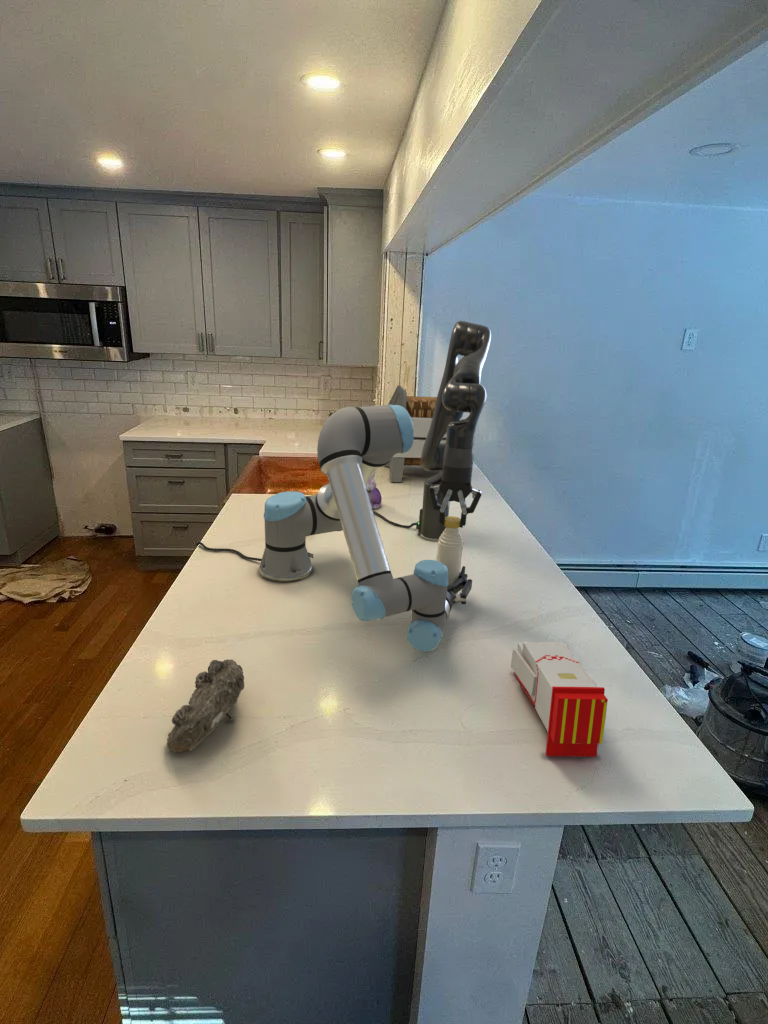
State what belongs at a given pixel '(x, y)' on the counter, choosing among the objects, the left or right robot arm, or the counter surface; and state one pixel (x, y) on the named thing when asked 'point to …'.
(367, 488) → the figurine
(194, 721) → the fossil
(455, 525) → the cap
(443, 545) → the bottle
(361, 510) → the left robot arm
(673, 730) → the counter surface
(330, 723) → the counter surface
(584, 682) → the toy
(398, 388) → the transformer
